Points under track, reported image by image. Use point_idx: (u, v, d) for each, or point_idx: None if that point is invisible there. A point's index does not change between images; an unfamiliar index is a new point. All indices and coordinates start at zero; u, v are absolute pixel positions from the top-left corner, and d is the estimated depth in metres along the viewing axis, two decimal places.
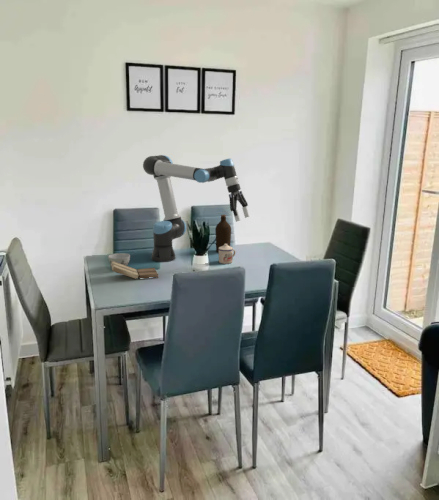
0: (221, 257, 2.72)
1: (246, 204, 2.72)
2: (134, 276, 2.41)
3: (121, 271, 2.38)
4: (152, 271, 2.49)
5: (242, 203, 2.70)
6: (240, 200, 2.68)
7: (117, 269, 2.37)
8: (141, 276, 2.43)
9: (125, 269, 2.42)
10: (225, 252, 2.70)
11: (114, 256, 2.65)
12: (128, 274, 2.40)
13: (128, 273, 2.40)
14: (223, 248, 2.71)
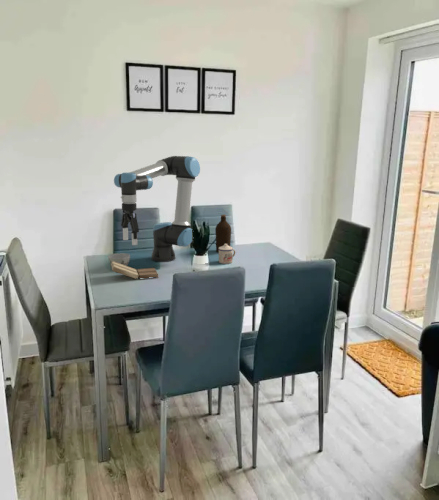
0: (221, 257, 2.72)
1: (133, 231, 2.27)
2: (134, 276, 2.41)
3: (121, 271, 2.38)
4: (152, 271, 2.49)
5: None
6: None
7: (117, 269, 2.37)
8: (141, 276, 2.43)
9: (125, 269, 2.42)
10: (225, 252, 2.70)
11: (114, 256, 2.65)
12: (128, 274, 2.40)
13: (128, 273, 2.40)
14: (223, 248, 2.71)
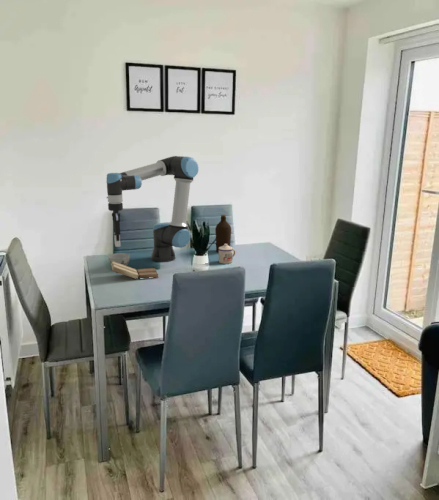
0: (221, 257, 2.72)
1: (115, 234, 2.35)
2: (134, 276, 2.41)
3: (121, 271, 2.38)
4: (152, 271, 2.49)
5: None
6: None
7: (117, 269, 2.37)
8: (141, 276, 2.43)
9: (125, 269, 2.42)
10: (225, 252, 2.70)
11: (114, 256, 2.65)
12: (128, 274, 2.40)
13: (128, 273, 2.40)
14: (223, 248, 2.71)
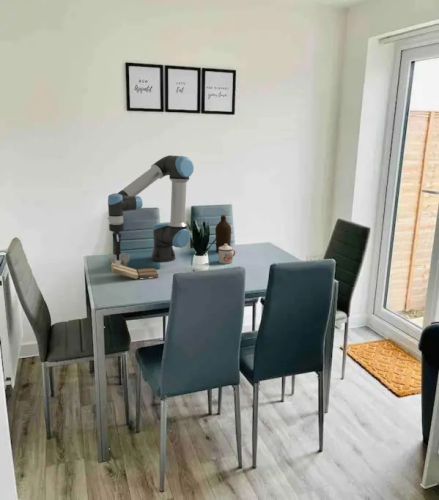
0: (221, 257, 2.72)
1: (115, 253, 2.39)
2: (134, 276, 2.41)
3: (121, 272, 2.38)
4: (152, 271, 2.49)
5: None
6: None
7: (117, 270, 2.38)
8: (141, 276, 2.43)
9: (125, 270, 2.42)
10: (225, 252, 2.70)
11: (114, 256, 2.65)
12: (128, 275, 2.40)
13: (128, 274, 2.40)
14: (223, 248, 2.71)
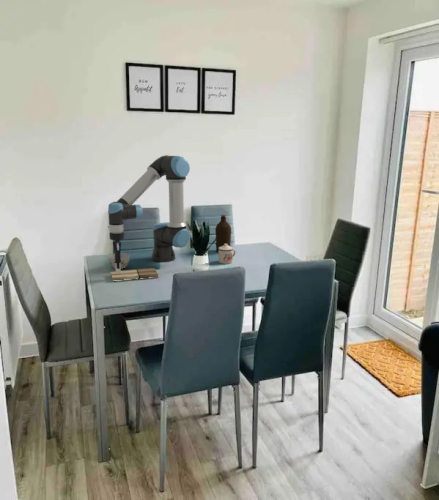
0: (221, 257, 2.72)
1: (115, 262, 2.40)
2: (135, 278, 2.42)
3: (120, 279, 2.39)
4: (152, 271, 2.49)
5: None
6: None
7: (116, 278, 2.39)
8: (141, 276, 2.43)
9: (124, 275, 2.43)
10: (225, 252, 2.70)
11: (114, 256, 2.65)
12: (128, 278, 2.41)
13: (128, 278, 2.40)
14: (223, 248, 2.71)
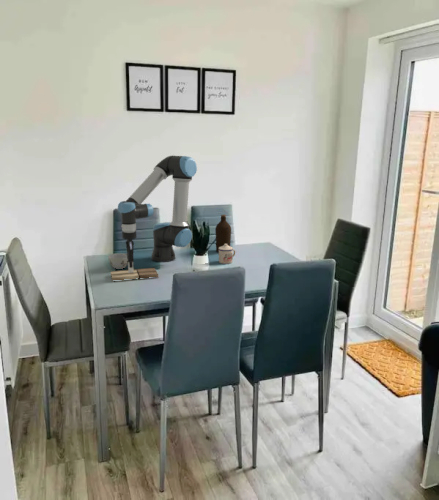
0: (221, 257, 2.72)
1: (128, 261, 2.42)
2: (135, 278, 2.42)
3: (120, 279, 2.39)
4: (152, 271, 2.49)
5: None
6: None
7: (116, 278, 2.39)
8: (141, 276, 2.43)
9: (124, 275, 2.43)
10: (225, 252, 2.70)
11: (114, 256, 2.65)
12: (128, 278, 2.41)
13: (128, 278, 2.40)
14: (223, 248, 2.71)
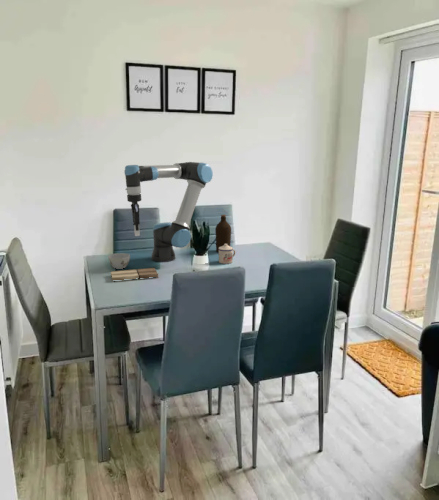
0: (221, 257, 2.72)
1: (134, 224, 2.44)
2: (135, 278, 2.42)
3: (120, 279, 2.39)
4: (152, 271, 2.49)
5: None
6: None
7: (116, 278, 2.39)
8: (141, 276, 2.43)
9: (124, 275, 2.43)
10: (225, 252, 2.70)
11: (114, 256, 2.65)
12: (128, 278, 2.41)
13: (128, 278, 2.40)
14: (223, 248, 2.71)
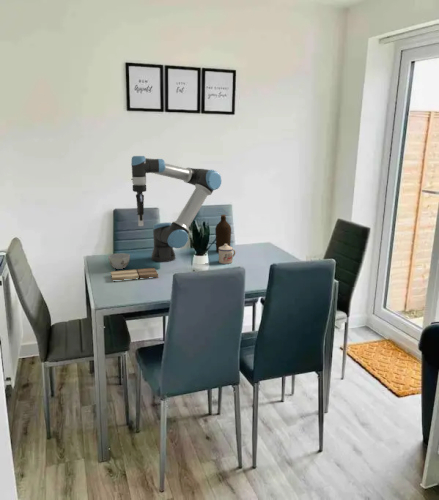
0: (221, 257, 2.72)
1: (138, 214, 2.49)
2: (135, 278, 2.42)
3: (120, 279, 2.39)
4: (152, 271, 2.49)
5: None
6: None
7: (116, 278, 2.39)
8: (141, 276, 2.43)
9: (124, 275, 2.43)
10: (225, 252, 2.70)
11: (114, 256, 2.65)
12: (128, 278, 2.41)
13: (128, 278, 2.40)
14: (223, 248, 2.71)
